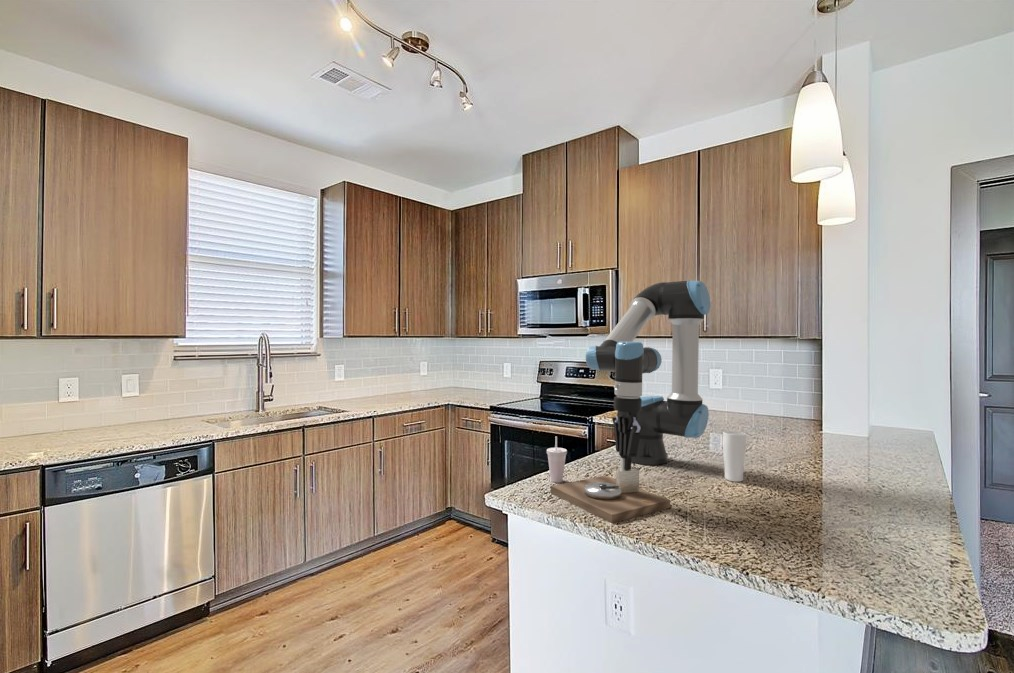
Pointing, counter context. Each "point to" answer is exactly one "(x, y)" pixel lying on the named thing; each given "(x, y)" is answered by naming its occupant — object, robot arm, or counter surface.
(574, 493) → the panel
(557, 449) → the smoothie
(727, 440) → the drinking glass
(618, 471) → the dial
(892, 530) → the counter surface
